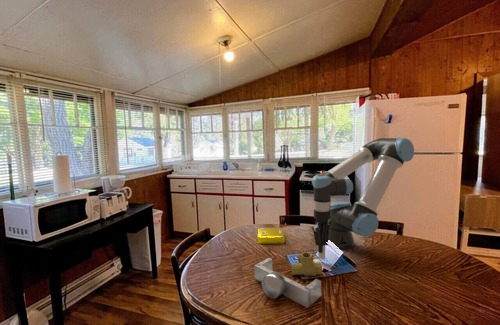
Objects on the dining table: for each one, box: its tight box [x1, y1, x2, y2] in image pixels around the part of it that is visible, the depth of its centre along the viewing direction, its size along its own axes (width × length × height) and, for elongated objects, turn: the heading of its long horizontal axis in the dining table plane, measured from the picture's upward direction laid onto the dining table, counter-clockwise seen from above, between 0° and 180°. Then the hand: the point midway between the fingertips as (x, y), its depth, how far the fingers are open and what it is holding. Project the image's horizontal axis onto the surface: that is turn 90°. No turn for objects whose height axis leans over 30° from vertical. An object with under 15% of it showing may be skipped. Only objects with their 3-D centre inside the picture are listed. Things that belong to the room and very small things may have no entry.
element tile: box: [257, 227, 285, 245], centre depth 147 cm, size 15×15×5 cm
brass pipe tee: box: [290, 251, 323, 277], centre depth 109 cm, size 13×10×10 cm
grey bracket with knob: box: [253, 257, 322, 309], centre depth 96 cm, size 14×26×8 cm, turn 43°
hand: (321, 258), depth 117 cm, fingers closed
